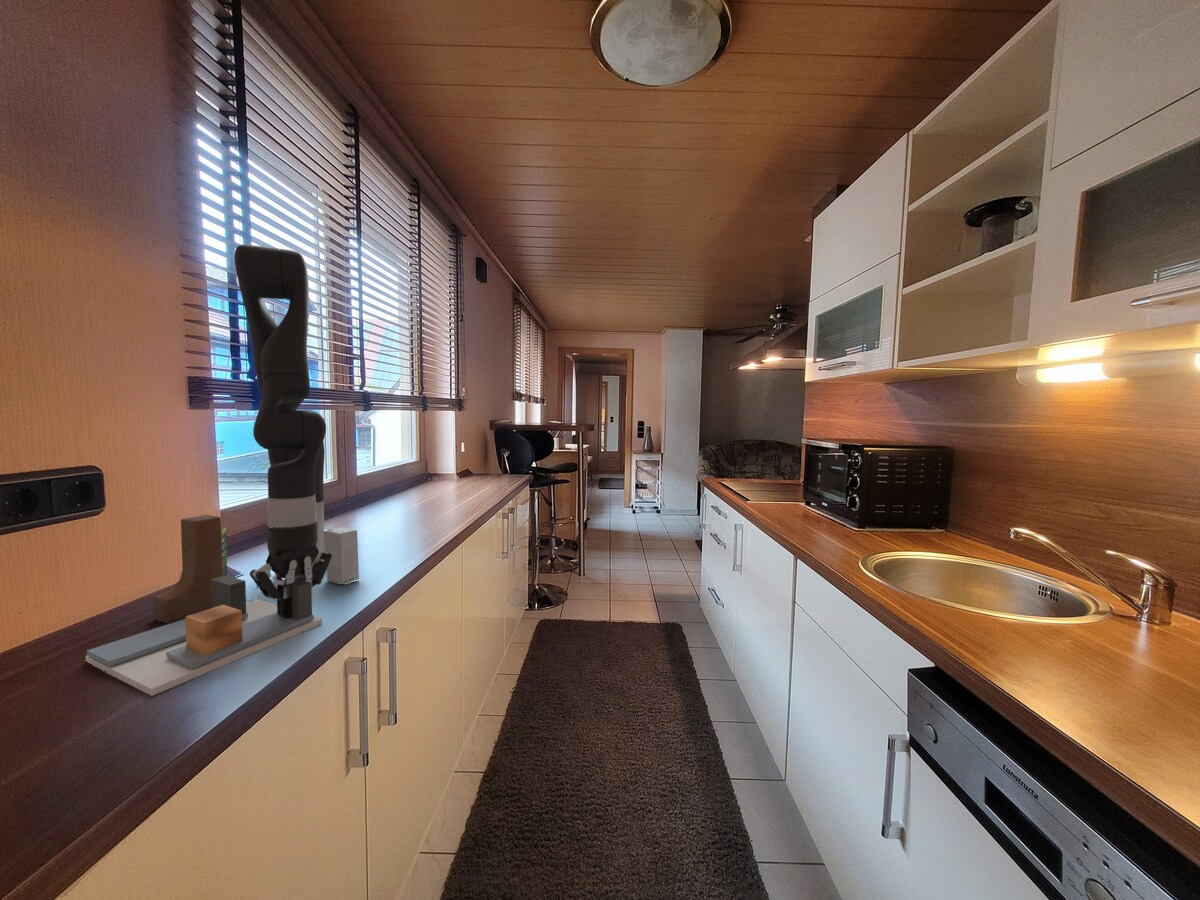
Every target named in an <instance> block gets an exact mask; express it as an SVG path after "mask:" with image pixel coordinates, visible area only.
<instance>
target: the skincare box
mask: <svg viewBox="0 0 1200 900" xmlns="http://www.w3.org/2000/svg"><path fill="white" fill-rule="evenodd" d="M325 530H326V531H325V549H326V553H331V554H332V557H331V560H330V562H329V565H328V567H327V569H326V581H327V582H329V581H330V582H329V583H333V582H334V584H336V583H339V584H338V585H340V584H346V583H349V582H351V581H354V580H357V579H359V580H360V571H359V569H360V568H359V546H358V545H359V543H358V530H357V529H351V528H347V527H343V526H340V527H335V528H334V527H333V528H330V529H325Z"/></svg>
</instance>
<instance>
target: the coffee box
mask: <svg viewBox="0 0 1200 900" xmlns="http://www.w3.org/2000/svg"><path fill="white" fill-rule="evenodd" d="M221 540H222V574H223V576H228V559H227V558H228V555H227V551H228V550H227V527H226V526H221Z"/></svg>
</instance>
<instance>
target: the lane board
mask: <svg viewBox="0 0 1200 900" xmlns="http://www.w3.org/2000/svg"><path fill="white" fill-rule="evenodd" d="M276 612H277V603H272V602H269V601H266V600H261V599H256V600H251V601H249V602H246V613H248V618H246V619H243V620H242V625H243V624H246V623H249V622H251V621H254V620H257V619H260V618H262V617H265V616H268V615H271V614H273V613H276ZM322 624H323V618H322V617H320V616H315V615H314V620H311V621H309V622H306V623H304V624H301V625H299V626H297V627H294V628H292V629H289V630H287V631H284V632H282V633H279V634H277V635H275V636H272V637H270V638H267V639H265V640H262V641H260V642H257V643H255V644H252V645H250V646H248V647H245V648H243V649H240V650H238V651H235V652H233V653H230V654H228V655H226V656H223V657H221V658H218V659H216V660H213V661H211V662H208V663H206V664H203V665H201V666H199V667H196V668H194V669H192V668H189V667H187V666H185V665H182V664H180V663H178V662H175V661H173V660H171V659H169V658H167V655H166V652H169V651H172V650H175V649H177V648H180V647H183V646H186V640H184V641H181V642H178V643H175V644H172V645H170V646H167V647H164V648H161V649H158V650H156V651H153V652H150V653H147V654H144V655H142V656H139V657H136V658H133V659H130V660H127V661H125V662H122V663H119V664H116V665H113V666H111V667H109V666H107V665H105V664H103V663H101V662H99V661H97V660H95V659H93V658H91V657H89V656H87V655H85V662H86V661H87V662H88V663H90V664H92V665H93V667H94V666H95V668H96V667H97V668H96V669H98V668H99V669H98V670H100V669H101V670H100V671H102V670H103V671H102V672H104V671H105V672H104V673H106V674H108V675H110V676H112V677H113V678H116V679H117V680H119V681H122V682H124V683H126V684H128V685H130V686H132V687H133V688H135V689H138V690H139V691H142V692H143V693H145V694H147V695H150V696H151V697H153V696H155V695H158V694H160V693H162V692H164V691H167V690H169V689H172V688H174V687H176V686H179V685H181V684H183V683H185V682H188V681H190V680H192V679H195V678H197V677H200V676H202V675H204V674H207V673H209V672H212V671H214V670H216V669H219V668H221V667H223V666H226V665H227V664H228V665H229V664H230V663H232V662H235V661H237V660H240V659H242V658H244V657H247V656H249V655H252V654H254V653H257V652H259V651H260V650H263V649H265V648H268V647H270V646H273V645H275V644H277V643H279V642H282V641H284V640H287V639H289V638H292V637H294V636H296V635H299V634H302V633H304V632H305V631H308V630H310V629H313V628H315V627H318V626H321V625H322ZM88 663H87V664H88ZM90 664H89V665H90ZM92 665H91V666H92Z"/></svg>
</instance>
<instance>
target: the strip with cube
mask: <svg viewBox="0 0 1200 900" xmlns="http://www.w3.org/2000/svg"><path fill="white" fill-rule="evenodd" d="M312 589H313V588H312V584H311V582H307V581H303V580H299V579H296V578H295V577H294V583H293V585H292V586H291V595H290V597H291V604H292V616H291V617H290V618H287V619H286V618H283V617H281V616H280V615H278V613H277V612H276V613H273V614H271V615H268V616H265V617H262V618H260V619H257V620H254V621H251V622H249V623H246V624H243V625H242V641H241V642H238V643H236V644H233V645H230V646H228V647H225V648H223V649H220V650H218V651H215V652H213V653H210V654H208V655H202V654H200V653H198V652H195V651H193V650H190V649H188V648H186V646H183V647H180V648H177V649H175V650H172V651H169V652H166V655H167V658H169V659H171V660H173V661H175V662H178V663H180V664H182V665H185V666H187V667H189V668H192V669H194V668H196V667H199V666H201V665H203V664H206V663H208V662H211V661H213V660H216V659H218V658H221V657H223V656H226V655H228V654H230V653H233V652H235V651H238V650H240V649H243V648H245V647H248V646H250V645H252V644H255V643H257V642H260V641H262V640H265V639H267V638H270V637H272V636H275V635H277V634H279V633H282V632H284V631H287V630H289V629H292V628H294V627H297V626H299V625H301V624H304V623H306V622H309V621H311V620H314V616H315V615H314V614H313V602H312V601H313V599H312V597H313V595H312V594H313V593H312V592H313V591H312Z"/></svg>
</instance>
